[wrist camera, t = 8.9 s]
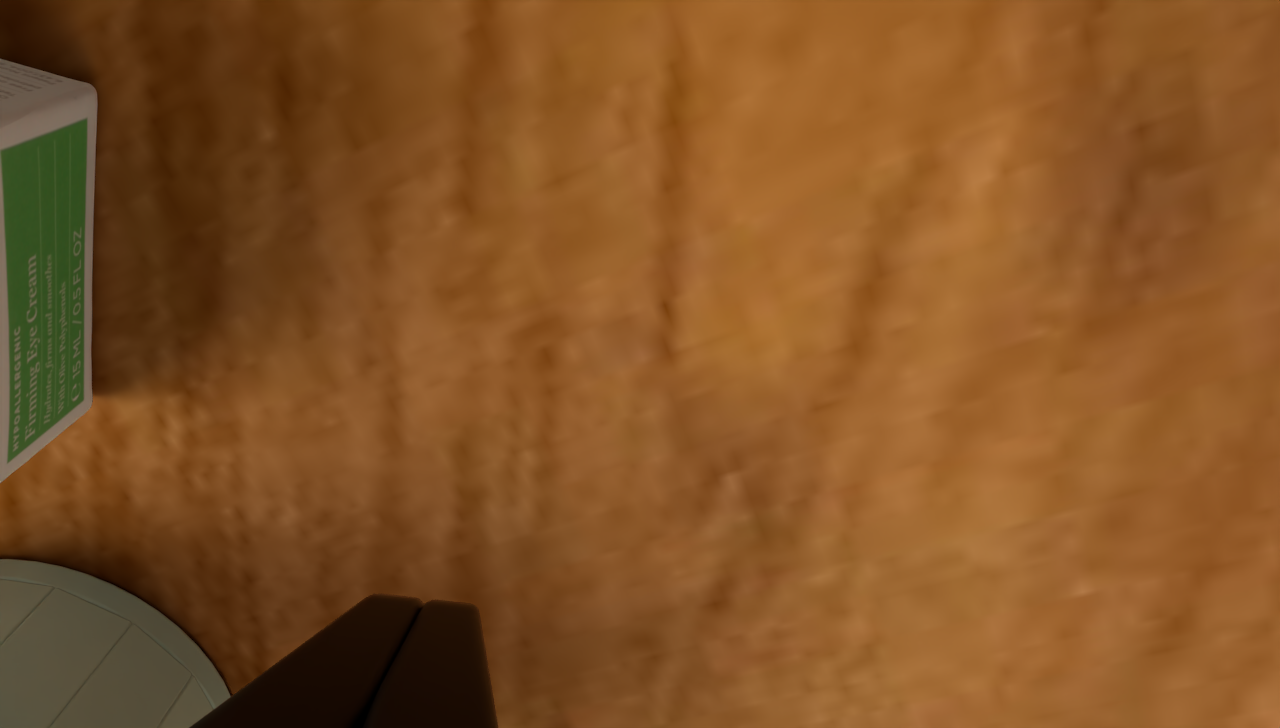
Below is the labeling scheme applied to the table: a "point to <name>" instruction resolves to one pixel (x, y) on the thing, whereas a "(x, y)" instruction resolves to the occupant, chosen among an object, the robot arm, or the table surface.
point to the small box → (44, 257)
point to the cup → (94, 656)
